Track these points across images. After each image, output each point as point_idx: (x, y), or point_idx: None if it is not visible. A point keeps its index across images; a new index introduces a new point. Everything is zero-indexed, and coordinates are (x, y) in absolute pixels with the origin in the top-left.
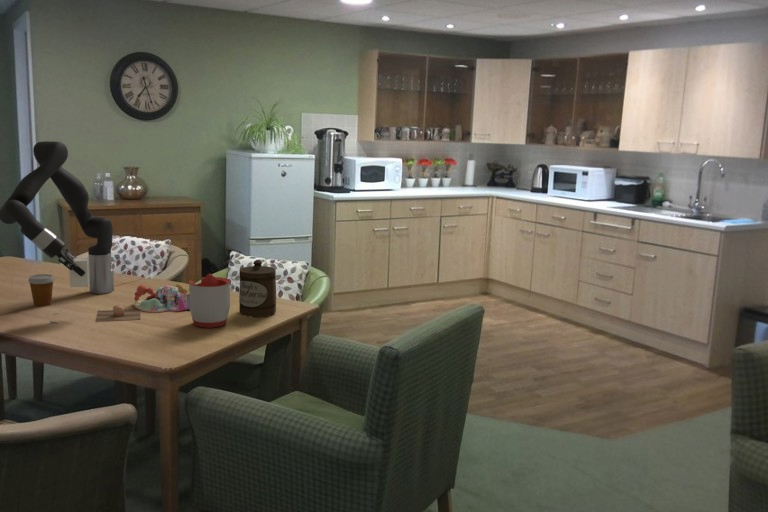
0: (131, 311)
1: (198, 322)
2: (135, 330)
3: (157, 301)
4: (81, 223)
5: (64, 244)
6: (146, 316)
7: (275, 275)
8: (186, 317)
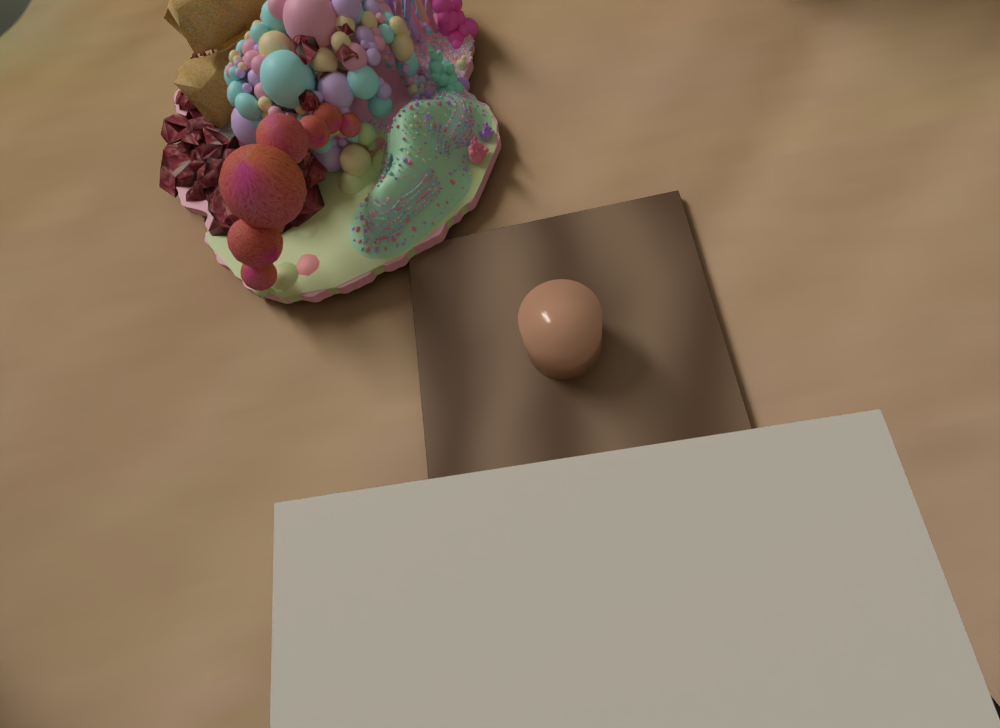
0: (466, 285)
1: None
2: (901, 177)
3: (431, 105)
4: None
5: None
6: (556, 190)
7: None
8: (580, 3)
